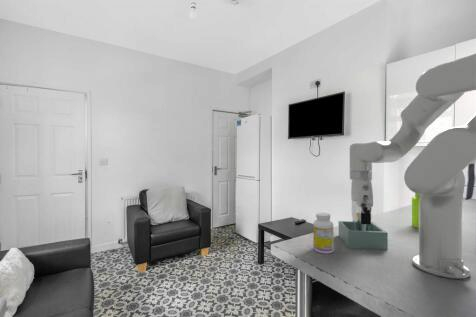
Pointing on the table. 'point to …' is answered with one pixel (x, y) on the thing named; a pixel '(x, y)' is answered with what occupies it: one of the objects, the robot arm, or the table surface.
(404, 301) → the table surface
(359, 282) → the table surface
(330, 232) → the supplement bottle
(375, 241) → the box
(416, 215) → the soap dispenser
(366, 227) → the beer glass
